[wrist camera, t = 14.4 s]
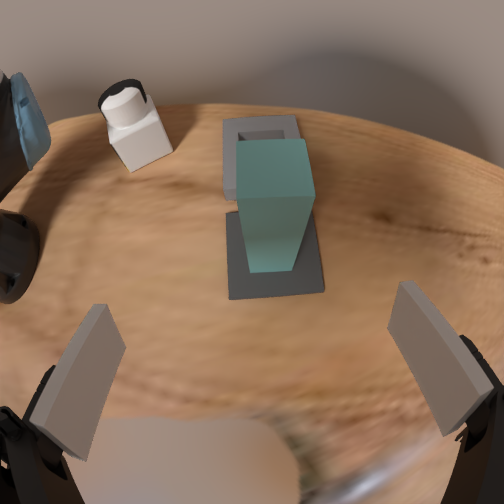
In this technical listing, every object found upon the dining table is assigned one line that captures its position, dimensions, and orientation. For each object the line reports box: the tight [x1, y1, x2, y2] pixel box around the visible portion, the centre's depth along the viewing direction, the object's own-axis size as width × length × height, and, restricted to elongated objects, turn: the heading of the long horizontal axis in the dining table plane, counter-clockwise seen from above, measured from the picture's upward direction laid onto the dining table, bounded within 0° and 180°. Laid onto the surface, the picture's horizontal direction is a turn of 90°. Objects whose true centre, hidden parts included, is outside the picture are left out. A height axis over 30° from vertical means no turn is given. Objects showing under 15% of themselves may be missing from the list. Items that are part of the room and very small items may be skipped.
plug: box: [236, 139, 316, 273], centre depth 23 cm, size 4×4×15 cm
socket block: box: [223, 115, 301, 201], centre depth 33 cm, size 10×12×2 cm
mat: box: [226, 210, 324, 300], centre depth 30 cm, size 10×10×1 cm
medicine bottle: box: [98, 79, 173, 173], centre depth 31 cm, size 7×7×12 cm
